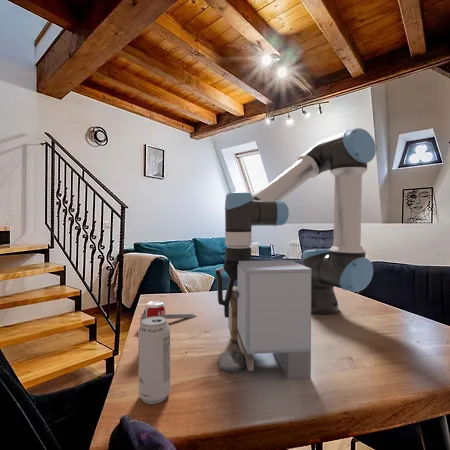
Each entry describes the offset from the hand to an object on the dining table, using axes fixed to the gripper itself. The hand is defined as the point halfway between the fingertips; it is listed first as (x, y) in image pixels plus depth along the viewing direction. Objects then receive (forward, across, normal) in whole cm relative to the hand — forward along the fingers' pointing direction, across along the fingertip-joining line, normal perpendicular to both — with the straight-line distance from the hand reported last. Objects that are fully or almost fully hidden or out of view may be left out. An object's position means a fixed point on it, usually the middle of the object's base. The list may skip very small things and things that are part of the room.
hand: (238, 327), depth 82 cm
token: (+4, +4, +14) cm, 15 cm away
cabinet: (+4, -6, +14) cm, 16 cm away
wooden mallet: (+3, 0, +8) cm, 8 cm away
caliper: (+4, +21, -16) cm, 27 cm away
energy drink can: (+4, +20, +24) cm, 31 cm away
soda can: (+4, +23, +2) cm, 23 cm away
